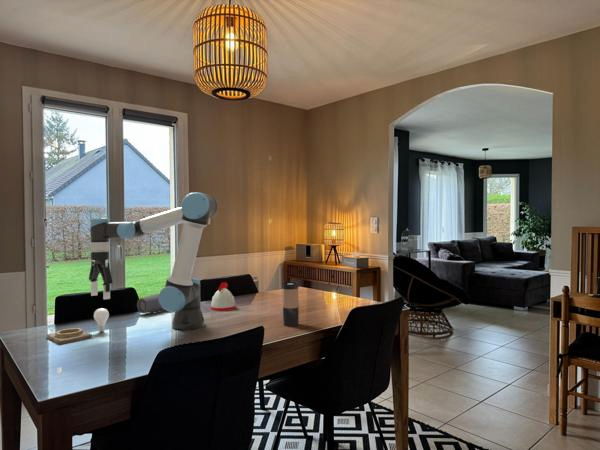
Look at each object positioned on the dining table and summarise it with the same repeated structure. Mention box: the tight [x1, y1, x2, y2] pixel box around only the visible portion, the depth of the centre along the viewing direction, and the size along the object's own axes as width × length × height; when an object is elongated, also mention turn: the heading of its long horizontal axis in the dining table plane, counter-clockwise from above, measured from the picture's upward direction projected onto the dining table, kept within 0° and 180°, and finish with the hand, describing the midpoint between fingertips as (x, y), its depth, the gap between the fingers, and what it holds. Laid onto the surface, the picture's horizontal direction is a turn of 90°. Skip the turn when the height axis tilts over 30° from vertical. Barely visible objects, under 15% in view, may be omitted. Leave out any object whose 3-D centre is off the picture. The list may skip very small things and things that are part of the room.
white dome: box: [210, 281, 236, 312], centre depth 244 cm, size 14×14×15 cm
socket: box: [46, 327, 93, 346], centre depth 186 cm, size 16×13×3 cm
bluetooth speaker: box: [136, 293, 165, 314], centre depth 239 cm, size 23×9×10 cm, turn 148°
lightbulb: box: [93, 307, 110, 333], centre depth 196 cm, size 6×6×11 cm
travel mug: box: [282, 281, 300, 327], centre depth 204 cm, size 8×8×20 cm
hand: (100, 297), depth 196 cm, fingers open, 13 cm apart
